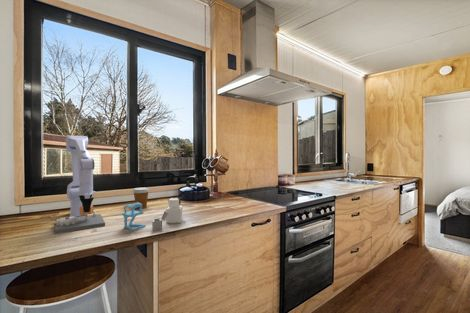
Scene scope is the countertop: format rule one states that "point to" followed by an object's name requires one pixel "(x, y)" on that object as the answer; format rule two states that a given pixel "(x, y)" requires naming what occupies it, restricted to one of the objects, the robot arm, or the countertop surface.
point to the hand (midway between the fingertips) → (86, 210)
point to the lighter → (158, 222)
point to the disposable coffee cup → (141, 196)
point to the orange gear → (86, 212)
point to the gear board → (79, 223)
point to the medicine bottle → (174, 211)
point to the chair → (133, 215)
